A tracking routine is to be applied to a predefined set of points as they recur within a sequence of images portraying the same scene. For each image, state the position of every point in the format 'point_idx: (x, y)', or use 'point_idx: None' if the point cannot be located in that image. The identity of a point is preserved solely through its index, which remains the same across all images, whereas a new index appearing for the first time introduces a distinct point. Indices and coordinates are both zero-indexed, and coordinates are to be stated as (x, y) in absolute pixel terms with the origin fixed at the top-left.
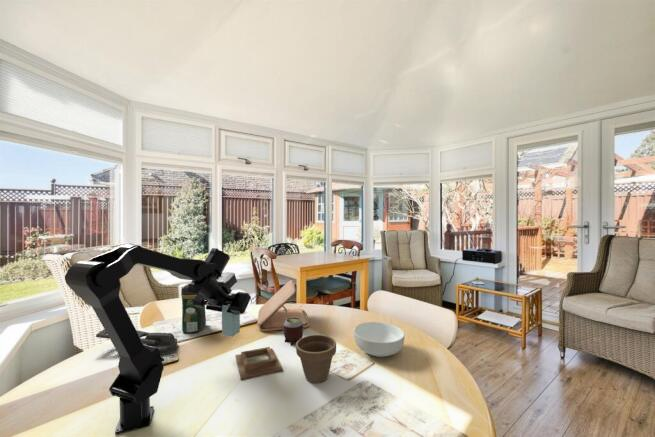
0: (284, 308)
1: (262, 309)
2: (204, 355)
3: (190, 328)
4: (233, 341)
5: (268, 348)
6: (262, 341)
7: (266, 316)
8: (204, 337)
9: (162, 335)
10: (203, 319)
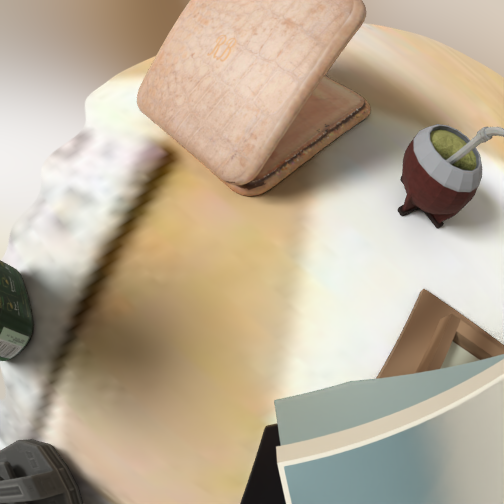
0: (495, 135)
1: (162, 100)
2: (214, 480)
3: (9, 350)
4: (217, 328)
5: (458, 325)
6: (332, 258)
7: (265, 138)
8: (80, 359)
9: (20, 501)
10: (8, 289)
